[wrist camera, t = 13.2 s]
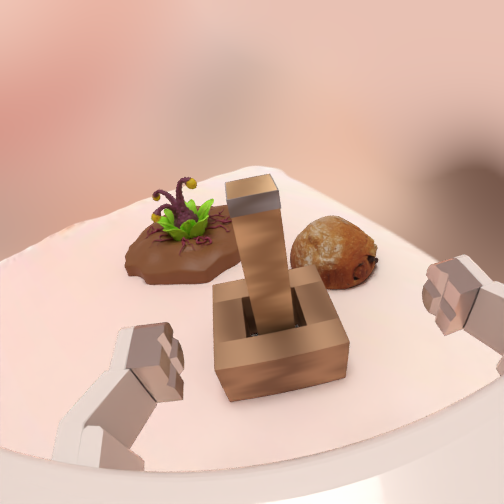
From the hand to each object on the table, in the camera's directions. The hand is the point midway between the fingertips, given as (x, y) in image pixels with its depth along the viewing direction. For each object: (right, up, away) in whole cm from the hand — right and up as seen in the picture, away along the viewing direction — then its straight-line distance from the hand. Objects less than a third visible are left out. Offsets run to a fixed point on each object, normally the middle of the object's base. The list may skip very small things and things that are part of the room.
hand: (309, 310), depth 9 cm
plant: (-10, +2, +38) cm, 40 cm away
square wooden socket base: (+1, -7, +19) cm, 20 cm away
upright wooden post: (+1, -7, +19) cm, 20 cm away
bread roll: (+9, 0, +28) cm, 29 cm away
